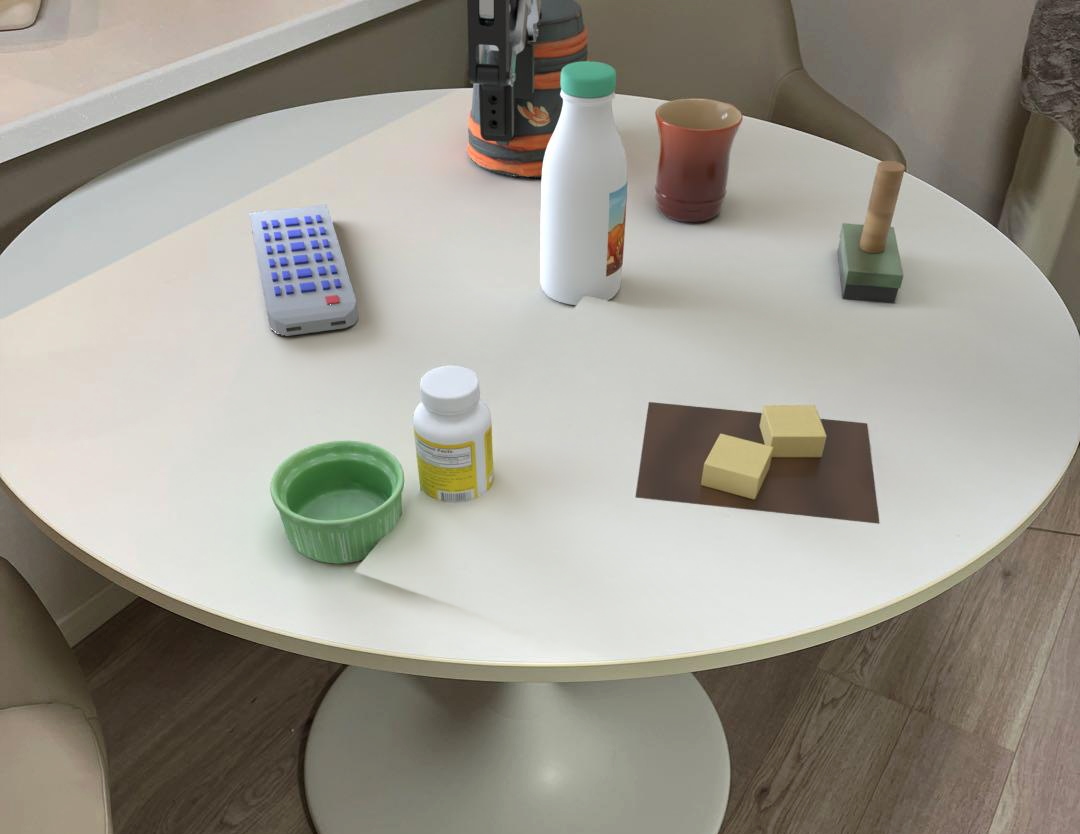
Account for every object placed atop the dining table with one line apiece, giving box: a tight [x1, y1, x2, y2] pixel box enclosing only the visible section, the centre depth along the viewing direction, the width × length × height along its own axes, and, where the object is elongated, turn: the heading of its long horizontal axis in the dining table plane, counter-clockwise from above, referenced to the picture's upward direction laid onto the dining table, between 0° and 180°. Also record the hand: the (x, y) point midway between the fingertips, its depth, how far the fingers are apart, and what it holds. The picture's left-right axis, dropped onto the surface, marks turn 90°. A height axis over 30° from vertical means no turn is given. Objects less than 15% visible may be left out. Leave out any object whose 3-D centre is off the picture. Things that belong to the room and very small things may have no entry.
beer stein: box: [466, 0, 590, 178], centre depth 115 cm, size 19×15×20 cm
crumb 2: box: [760, 404, 826, 458], centre depth 79 cm, size 4×4×2 cm
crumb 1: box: [701, 434, 773, 500], centre depth 76 cm, size 4×4×2 cm
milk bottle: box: [539, 60, 629, 306], centre depth 94 cm, size 8×8×20 cm
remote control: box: [249, 204, 359, 337], centre depth 101 cm, size 8×23×2 cm, turn 16°
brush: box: [837, 160, 906, 304], centre depth 99 cm, size 5×10×11 cm, turn 171°
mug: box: [654, 97, 744, 223], centre depth 110 cm, size 12×9×10 cm
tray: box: [634, 401, 880, 525], centre depth 79 cm, size 17×12×2 cm
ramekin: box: [269, 439, 405, 564], centre depth 73 cm, size 9×9×4 cm
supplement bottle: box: [412, 365, 495, 503], centre depth 74 cm, size 5×5×10 cm
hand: (508, 117), depth 76 cm, fingers open, 8 cm apart
